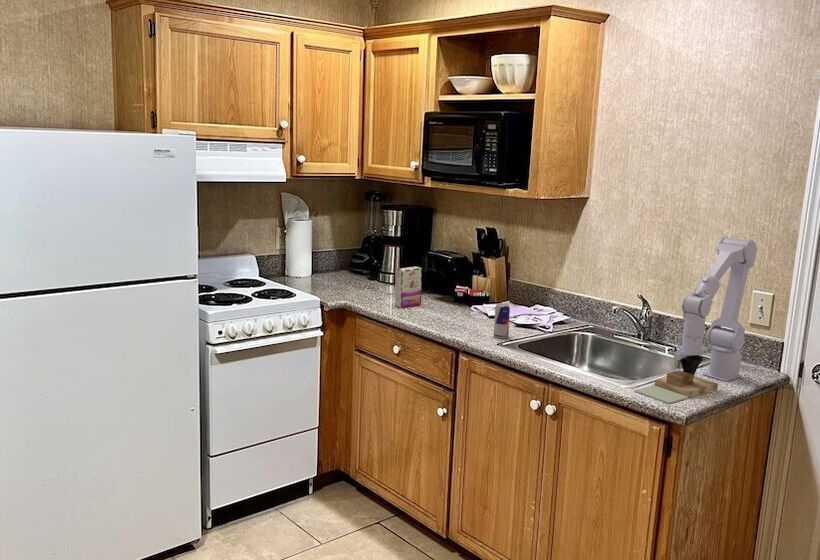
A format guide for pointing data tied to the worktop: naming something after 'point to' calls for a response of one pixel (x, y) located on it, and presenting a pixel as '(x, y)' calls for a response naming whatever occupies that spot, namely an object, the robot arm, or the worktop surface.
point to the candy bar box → (408, 287)
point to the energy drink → (501, 321)
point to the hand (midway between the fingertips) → (688, 379)
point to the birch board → (689, 387)
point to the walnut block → (680, 378)
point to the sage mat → (661, 394)
